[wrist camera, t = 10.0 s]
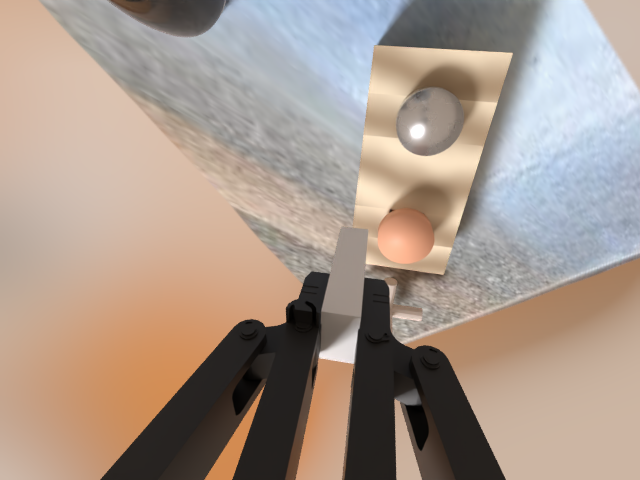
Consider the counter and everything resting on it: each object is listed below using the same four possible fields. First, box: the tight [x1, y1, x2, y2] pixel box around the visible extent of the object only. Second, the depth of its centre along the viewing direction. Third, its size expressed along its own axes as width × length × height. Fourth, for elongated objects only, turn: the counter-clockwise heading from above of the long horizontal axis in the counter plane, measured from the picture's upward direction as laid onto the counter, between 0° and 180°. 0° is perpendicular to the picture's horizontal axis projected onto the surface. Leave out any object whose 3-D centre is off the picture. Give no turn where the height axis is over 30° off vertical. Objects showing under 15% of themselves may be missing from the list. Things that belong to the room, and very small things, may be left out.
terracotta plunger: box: [378, 208, 435, 264], centre depth 38 cm, size 6×6×8 cm
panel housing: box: [353, 45, 513, 275], centre depth 37 cm, size 24×12×6 cm, turn 177°
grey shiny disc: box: [396, 86, 464, 156], centre depth 32 cm, size 6×6×8 cm
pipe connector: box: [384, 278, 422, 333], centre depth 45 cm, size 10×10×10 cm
